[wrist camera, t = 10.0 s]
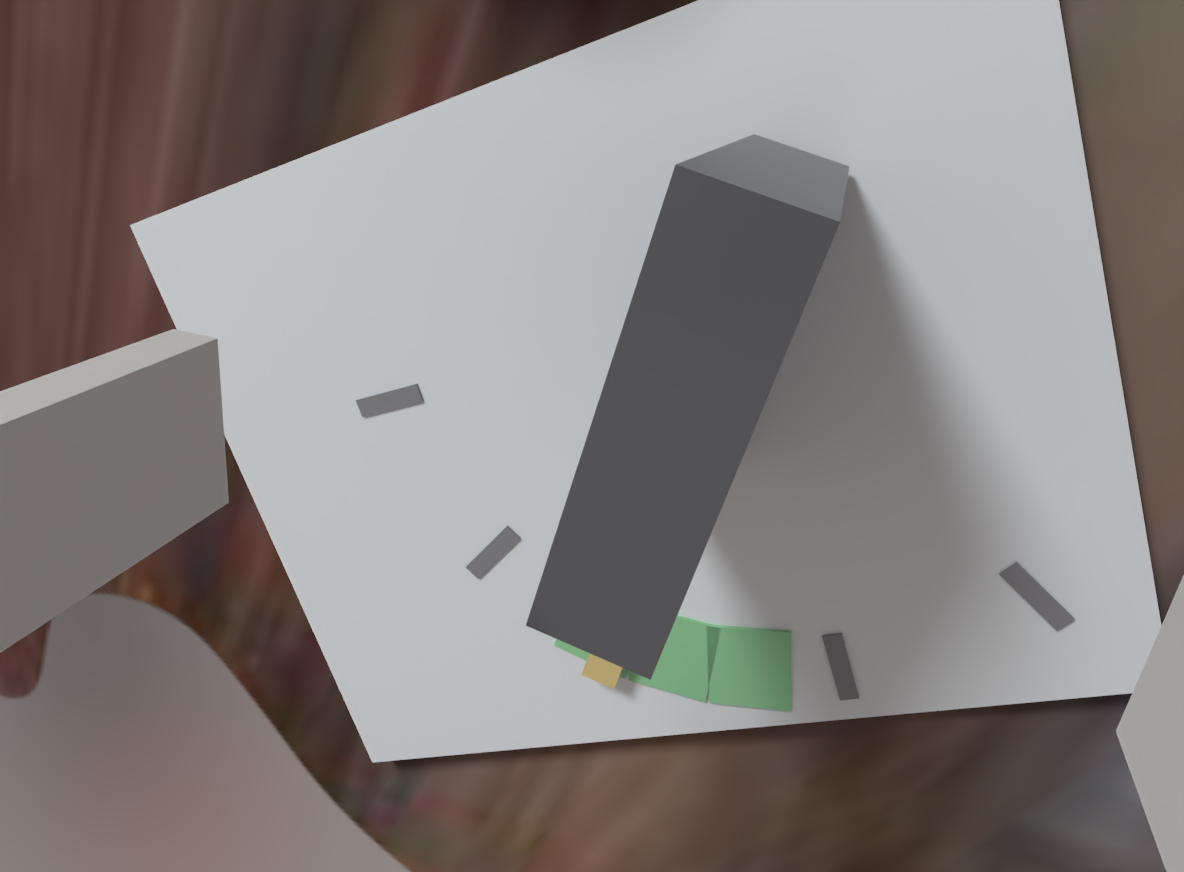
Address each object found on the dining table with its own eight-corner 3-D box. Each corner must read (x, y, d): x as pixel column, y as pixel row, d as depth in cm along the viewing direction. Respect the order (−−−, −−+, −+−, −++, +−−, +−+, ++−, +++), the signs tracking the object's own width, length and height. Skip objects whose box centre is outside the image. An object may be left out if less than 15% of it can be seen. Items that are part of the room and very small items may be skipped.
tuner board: (1029, -125, 21) (1037, -135, 20) (1161, 669, 27) (1173, 692, 26) (151, 221, 31) (127, 225, 30) (384, 746, 37) (370, 764, 36)
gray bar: (754, 133, 23) (675, 164, 14) (849, 166, 23) (839, 222, 13) (567, 656, 31) (429, 921, 21) (637, 687, 31) (529, 971, 21)
